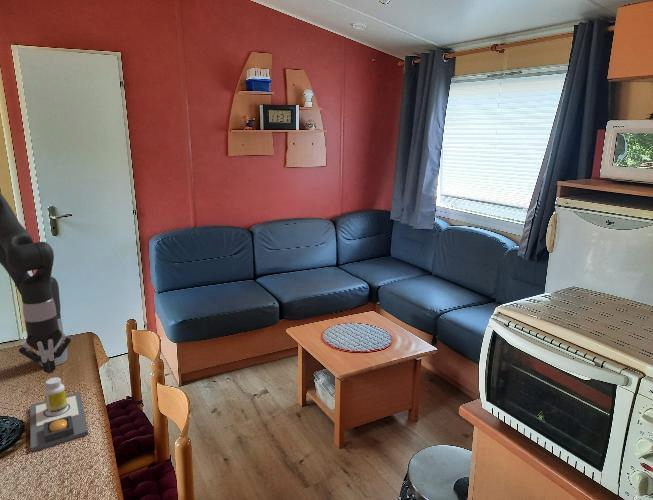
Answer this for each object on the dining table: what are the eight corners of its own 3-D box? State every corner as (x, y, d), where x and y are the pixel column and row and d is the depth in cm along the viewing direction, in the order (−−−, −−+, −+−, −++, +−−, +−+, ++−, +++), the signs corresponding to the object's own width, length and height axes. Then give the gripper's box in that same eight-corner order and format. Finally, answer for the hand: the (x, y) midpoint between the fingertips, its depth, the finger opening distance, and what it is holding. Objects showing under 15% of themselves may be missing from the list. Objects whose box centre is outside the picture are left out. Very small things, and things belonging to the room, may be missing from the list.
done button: (49, 428, 133) (48, 422, 133) (67, 423, 136) (66, 417, 135) (50, 437, 130) (49, 430, 129) (68, 431, 132) (67, 425, 131)
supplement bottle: (71, 406, 144) (67, 378, 142) (55, 416, 139) (51, 386, 137) (58, 402, 146) (54, 374, 144) (43, 412, 141) (38, 383, 139)
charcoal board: (30, 408, 146) (29, 399, 145) (80, 395, 153) (79, 386, 152) (31, 451, 126) (29, 441, 125) (88, 434, 133) (87, 424, 132)
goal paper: (35, 406, 145) (35, 405, 144) (75, 396, 150) (75, 395, 150) (36, 426, 135) (36, 425, 135) (78, 414, 140) (78, 413, 140)
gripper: (11, 325, 119) (22, 385, 124) (69, 314, 126) (78, 371, 131) (11, 315, 125) (22, 372, 130) (66, 305, 132) (75, 360, 137)
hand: (50, 372), depth 130 cm, fingers closed
